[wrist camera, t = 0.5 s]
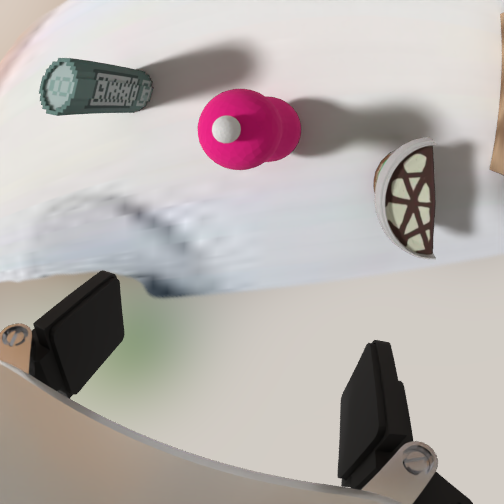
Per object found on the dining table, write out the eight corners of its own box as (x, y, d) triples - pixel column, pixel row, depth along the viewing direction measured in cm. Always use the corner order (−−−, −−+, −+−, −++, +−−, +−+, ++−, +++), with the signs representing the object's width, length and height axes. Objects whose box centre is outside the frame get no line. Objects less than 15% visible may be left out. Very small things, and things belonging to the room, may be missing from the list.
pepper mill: (313, 115, 34) (304, 99, 16) (287, 168, 37) (252, 208, 19) (258, 91, 34) (193, 57, 16) (234, 143, 37) (152, 161, 19)
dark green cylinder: (123, 68, 35) (47, 57, 22) (157, 73, 35) (83, 59, 21) (112, 107, 38) (35, 111, 24) (145, 115, 38) (69, 118, 24)
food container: (359, 136, 33) (373, 138, 24) (408, 134, 32) (436, 137, 23) (366, 234, 38) (378, 268, 29) (411, 231, 36) (435, 264, 27)
